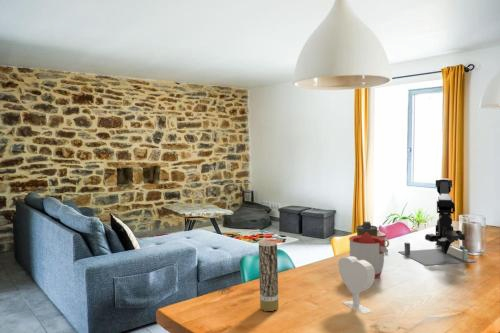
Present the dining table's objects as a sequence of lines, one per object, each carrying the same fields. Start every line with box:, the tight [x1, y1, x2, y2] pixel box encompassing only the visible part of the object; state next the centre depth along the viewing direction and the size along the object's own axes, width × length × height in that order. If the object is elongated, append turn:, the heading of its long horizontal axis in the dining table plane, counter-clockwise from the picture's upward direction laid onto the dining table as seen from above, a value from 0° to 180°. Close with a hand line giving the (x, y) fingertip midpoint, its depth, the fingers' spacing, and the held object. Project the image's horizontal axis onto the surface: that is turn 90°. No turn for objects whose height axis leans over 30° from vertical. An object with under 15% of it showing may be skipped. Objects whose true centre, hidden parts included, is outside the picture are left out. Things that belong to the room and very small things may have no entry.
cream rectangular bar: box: [447, 246, 469, 261], centre depth 209 cm, size 18×2×5 cm, turn 6°
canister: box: [356, 221, 378, 236], centre depth 208 cm, size 11×10×20 cm
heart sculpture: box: [337, 255, 376, 314], centre depth 149 cm, size 16×5×18 cm, turn 28°
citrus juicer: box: [348, 232, 389, 279], centre depth 183 cm, size 16×17×20 cm
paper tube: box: [258, 239, 279, 312], centre depth 149 cm, size 7×7×25 cm
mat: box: [398, 248, 477, 267], centre depth 211 cm, size 27×26×1 cm
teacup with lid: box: [377, 228, 390, 248], centre depth 226 cm, size 12×9×12 cm
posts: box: [404, 241, 466, 255], centre depth 211 cm, size 26×14×6 cm, turn 99°
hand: (445, 253), depth 205 cm, fingers closed
